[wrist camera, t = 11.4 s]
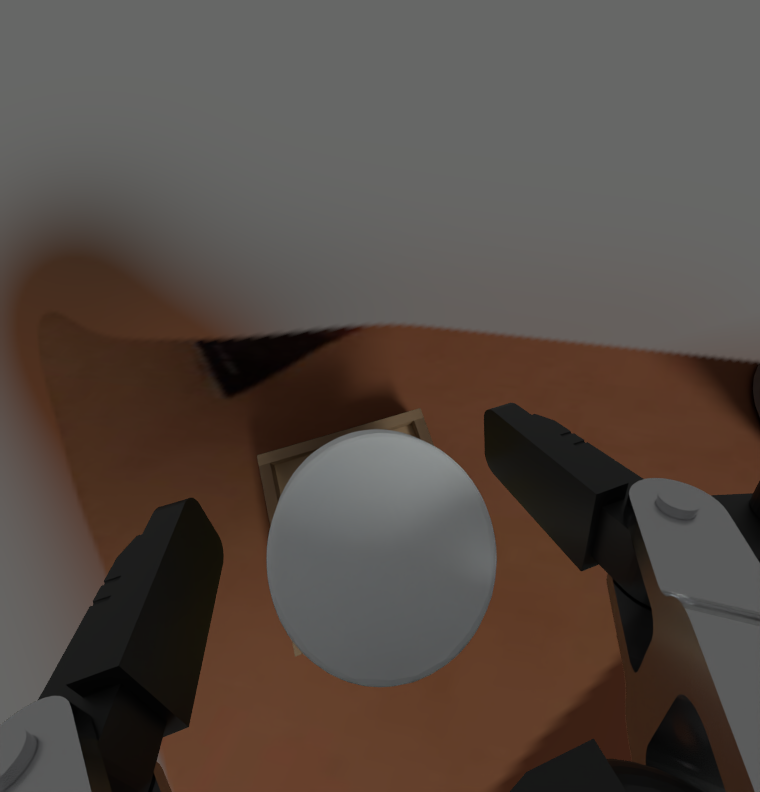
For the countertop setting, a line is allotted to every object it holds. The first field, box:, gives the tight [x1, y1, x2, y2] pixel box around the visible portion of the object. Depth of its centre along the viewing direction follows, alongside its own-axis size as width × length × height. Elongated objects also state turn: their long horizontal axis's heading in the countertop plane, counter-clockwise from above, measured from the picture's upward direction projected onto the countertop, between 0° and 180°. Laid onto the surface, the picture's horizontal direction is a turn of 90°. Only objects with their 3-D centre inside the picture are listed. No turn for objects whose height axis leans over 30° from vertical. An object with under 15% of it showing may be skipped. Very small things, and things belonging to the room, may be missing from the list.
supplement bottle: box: [267, 429, 497, 687], centre depth 10 cm, size 5×5×10 cm
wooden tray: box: [257, 408, 434, 656], centre depth 15 cm, size 8×8×2 cm
